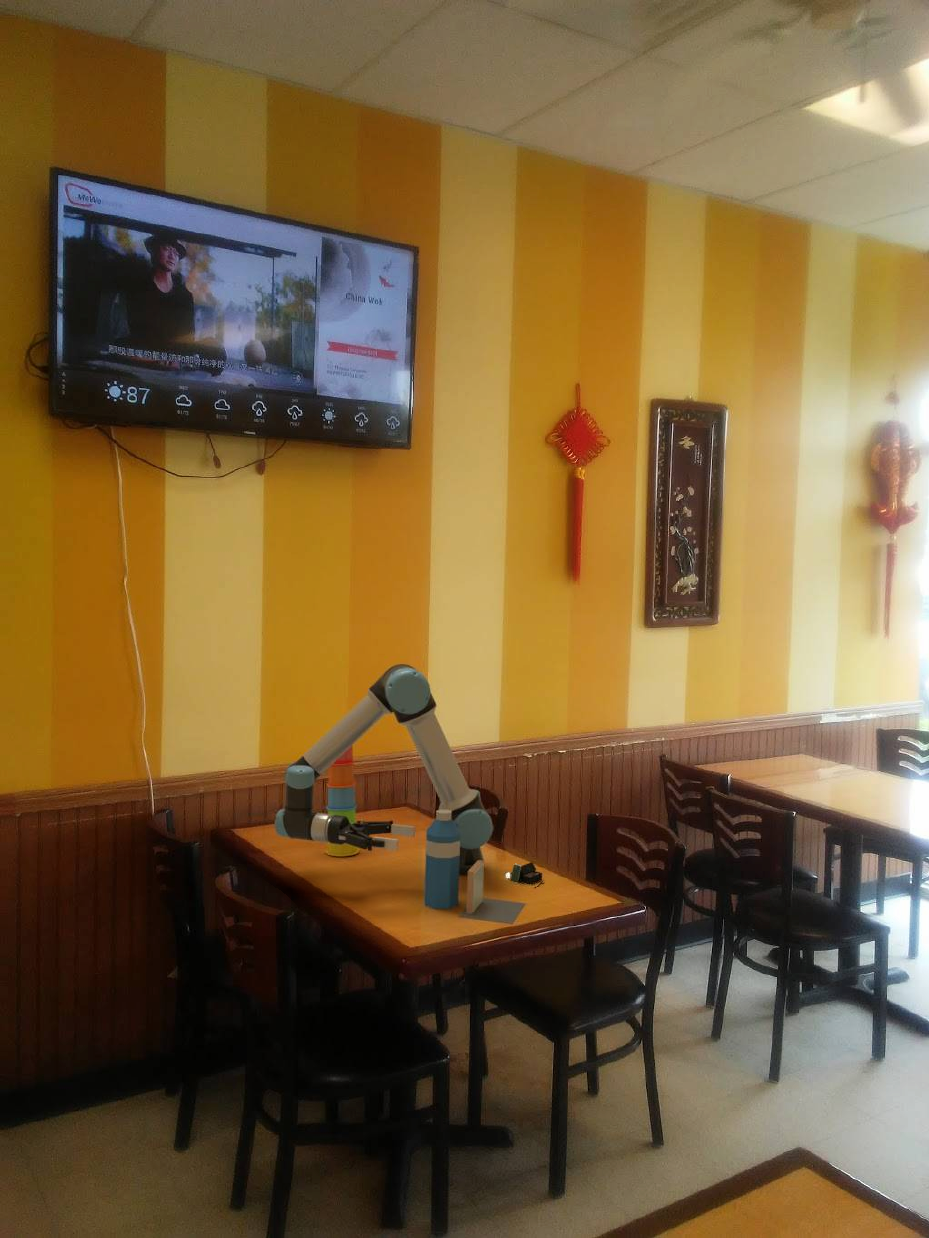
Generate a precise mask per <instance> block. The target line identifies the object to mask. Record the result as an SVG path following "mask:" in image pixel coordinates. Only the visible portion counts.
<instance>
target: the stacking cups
mask: <svg viewBox="0 0 929 1238" xmlns="http://www.w3.org/2000/svg"><path fill="white" fill-rule="evenodd" d="M353 750H354V749H353V745H352V746H351V747H350V748H349V749H348V750H347V751H346V752H345V753H343V754H342V755H341V756H340V757H339V758H338V759H337V760H336V761H335V762H334V763H333V764H332V765H331V766H330V767H329V768H328V783H326V786H327V788H328V789H327V803H328V804H327V805H326V806H325V807H326V809H327V814H332V815H333V816H334V815H339V816H346V817H347V818H348V820H349V823H350V824H354V823H357V819H356V818H357V817H356V816H357V815H356V808H358V805H357V804H355V803H356V801H355V800H356V798H355V796H356V795H355V793H356V792H355V786H356V784H357V783H356V782H355V778H354V776H355V775H354V774H355V773H354V764H355V761H354V759H353V757H354V755H353V752H354V751H353ZM359 852H360V848H358V847H355V846H353V845H350V844H347V843H344V844H342V845H340V844H332V843H330V842H328V843H327V848H326V849H325V853H326V855H328V856H331V857H349V856H353V855H354V856H355V855H357V854H359Z"/></svg>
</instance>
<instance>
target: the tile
mask: <svg viewBox="0 0 929 1238" xmlns="http://www.w3.org/2000/svg"><path fill="white" fill-rule="evenodd" d="M484 868H485V862H484V863H483V861H481V860H478V861H477V862H476V863H475V864H474V865H473V866H472V867H471V868H470V869H469V871H468V874H467V884H466V886H467V889H466V890H467V891H466V907H467V914H472V913H473V912H474V911H475V910H476V909H477V907H478V906H479V905H480V904H481V902H482V901H483V898H484V875H485V874H484V873H485V872H484V871H485V869H484Z"/></svg>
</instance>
